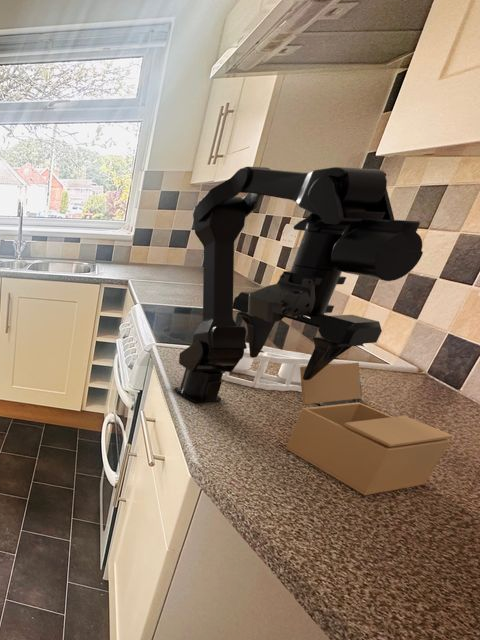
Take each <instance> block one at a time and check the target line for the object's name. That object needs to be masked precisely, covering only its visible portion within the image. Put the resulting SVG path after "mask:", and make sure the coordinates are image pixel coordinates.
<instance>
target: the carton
mask: <svg viewBox="0 0 480 640" xmlns="http://www.w3.org/2000/svg"><path fill="white" fill-rule="evenodd" d="M453 437H454V435H453V434H450V433H448V432H445V431H442V430H440V429H438V428H436V427H433V426H431V425H428V424H426V423H423V422H421V421H419V420H416V419H413V418H411V417H409V416H406V415H398V416H394V415H393V416H392V415H390V414H388V413H385V412H384V411H381V410H378V409H376V408H374V407H371V406H368V405H366V404H363V402H362V403H359V402H357V403H348V404H338V405H329V406H321V405H320V406H319V405H318V406H309V407H302V408H301V411H300V413H299V415H298V418H297V420H296V422H295V424H294V427H293V429H292V432H291V434H290V436H289V439H288V441H287V443H286V446H285V449H286V451H289V452H291V453H292V454H294V455H295V456H298V457H299V458H300V459H302V460H304V461H306V462H307V463H309V464H311V465H312V466H314V467H316V468H317V469H319V470H321V471H323V472H324V473H325V474H328V475H329V476H331V477H333V478H334V479H336V480H338V481H339V482H341V483H343V484H344V485H346V486H348V487H349V488H351V489H353V490H354V491H356V492H357V493H359V494H361V495H363V496H369V495H374V494H379V493H386V492H390V491H397V490H400V489H401V490H402V489H408V488H412V487H418V486H424V485H426V483H427V482H428V480H429V479H430V476H431V475H432V474H433V472H434V471H435V468H436V466H437V465H438V463H439V462H440V460H441V459H442V457H443V455H444V453H445V452H446V450H447V448H448V447H449V446H450V444H451V442H452V440H450V439H452V438H453Z"/></svg>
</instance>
